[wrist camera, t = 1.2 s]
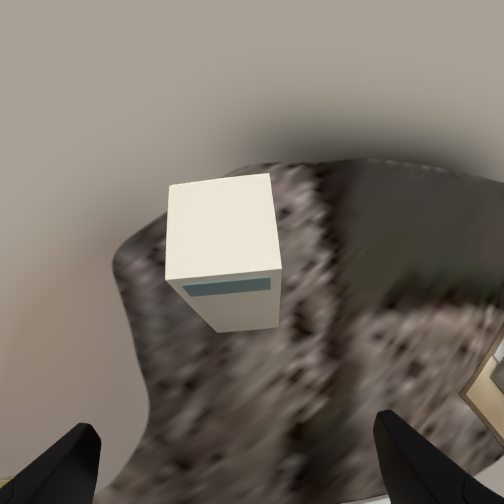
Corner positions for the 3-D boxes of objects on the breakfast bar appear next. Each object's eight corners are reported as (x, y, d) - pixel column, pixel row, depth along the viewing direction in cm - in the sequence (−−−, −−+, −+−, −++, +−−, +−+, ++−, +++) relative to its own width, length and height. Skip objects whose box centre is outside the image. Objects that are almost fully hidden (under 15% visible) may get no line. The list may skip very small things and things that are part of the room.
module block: (278, 328, 23) (281, 269, 12) (217, 333, 23) (165, 280, 12) (272, 269, 25) (268, 172, 14) (214, 275, 25) (169, 184, 14)
